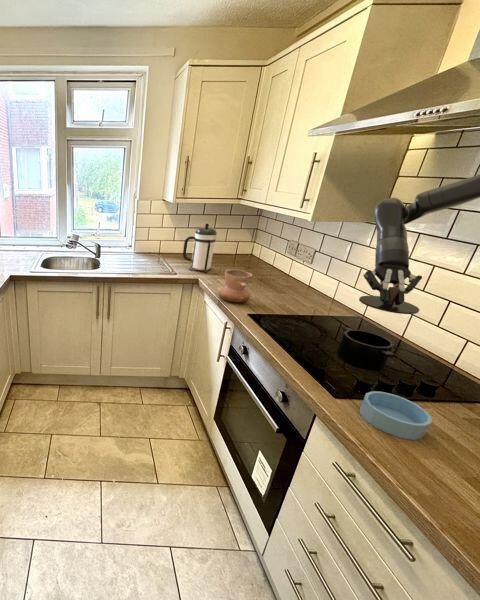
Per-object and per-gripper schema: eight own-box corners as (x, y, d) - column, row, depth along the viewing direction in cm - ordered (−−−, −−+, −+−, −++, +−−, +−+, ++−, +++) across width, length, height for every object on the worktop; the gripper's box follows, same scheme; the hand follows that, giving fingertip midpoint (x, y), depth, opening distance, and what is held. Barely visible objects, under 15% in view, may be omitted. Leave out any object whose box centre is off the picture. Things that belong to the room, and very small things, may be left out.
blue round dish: (392, 404, 87) (399, 391, 86) (439, 440, 76) (447, 425, 74) (347, 404, 88) (353, 390, 86) (386, 439, 76) (393, 424, 74)
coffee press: (205, 266, 215) (212, 221, 203) (216, 273, 200) (224, 225, 188) (180, 266, 214) (186, 221, 202) (189, 273, 199) (196, 225, 188)
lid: (389, 298, 103) (396, 281, 101) (431, 316, 90) (441, 296, 88) (347, 298, 103) (353, 280, 101) (383, 315, 91) (391, 296, 88)
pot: (357, 346, 116) (365, 326, 113) (401, 375, 100) (412, 352, 97) (323, 346, 117) (330, 325, 113) (361, 375, 100) (371, 352, 97)
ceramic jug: (255, 306, 151) (262, 278, 145) (225, 305, 151) (230, 277, 146) (239, 293, 167) (244, 267, 162) (211, 292, 168) (216, 267, 162)
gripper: (413, 263, 100) (415, 312, 95) (358, 258, 106) (357, 304, 100) (428, 250, 94) (431, 302, 88) (369, 245, 100) (368, 294, 94)
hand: (391, 303), depth 94 cm, fingers closed on lid, 2 cm apart
